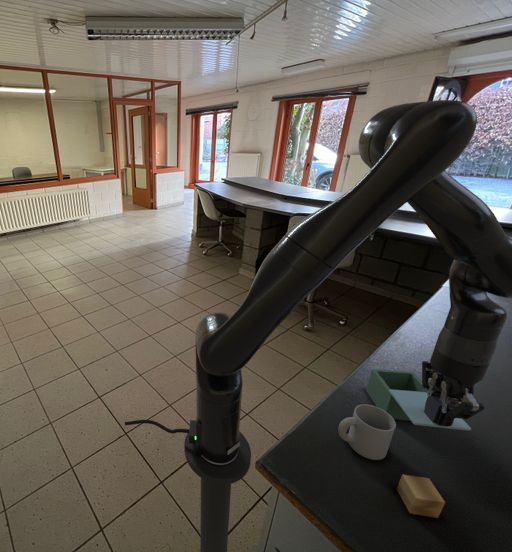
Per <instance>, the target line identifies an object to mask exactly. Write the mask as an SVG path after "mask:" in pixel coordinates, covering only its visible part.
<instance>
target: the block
mask: <svg viewBox="0 0 512 552" xmlns="http://www.w3.org/2000/svg"><path fill="white" fill-rule="evenodd" d="M396 491H397V493H398V495H399V497H400V498H401V500H402V502H403V503H404V506H405V507H406V509H407V511H408V513H409V514H410V515H411V514H412V515H418V516H424V517H430V518H435V519H439V517H440V515H441V513H442V511H443V508H444V506H445V504H446V501H445V500H444V498H443V497H442V495H441V494H440V493H439V491H438V489H437V488H436V486H435V485H434V483H433V482H432V481H431V479H430V478H429V477H423V476H417V475H408V474H401V477H400V479H399V482H398V485H397V487H396Z"/></svg>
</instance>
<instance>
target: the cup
mask: <svg viewBox="0 0 512 552" xmlns="http://www.w3.org/2000/svg"><path fill="white" fill-rule="evenodd" d="M395 420H396V419H393V417H392V416H391V415H390V414H388V413H387V412H386V411H384V410H382V409H380V408H378V407H377V406H376V405H372V404H366V403H365V404H364V403H363V404H357V406H355V407H354V410H353V414H352V416H350V417H345V418H344V419H342V420H341V421H340V423H339V424H338V431H337V432H338V436H339V438H341V439H342V440H343V441H344V442H347V443H348V444H349V445H350V446H349V447H351V448H352V450H354V451H355V452H356V453H357V454H358V455H359V456H361V457H362V458H365V459H368V460H372V461H380V460H383V459H385V457H386V456H387V454H388V451H389V448H390V445H391V442H392V439H393V436H394V432H395V430H396V427H397V423H396V421H395ZM348 429H349V430H348ZM347 432H348V433H347Z"/></svg>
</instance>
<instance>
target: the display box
mask: <svg viewBox="0 0 512 552" xmlns="http://www.w3.org/2000/svg"><path fill="white" fill-rule="evenodd" d="M389 389H392V390H404V391H416V392H427V389H426V388H423V386H422V379H421V378H419V376H418V375H417V374H416V373H415V372H414V371H403V370H391V369H390V370H389V369H378V368H371V370H370V375H369V378H368V382H367V386H366V390H365V391H366V393H367V394H368V395H369V397H370V399H371V400H372V402H373V403H374V406H376V407H378V408H380V409H382V410H384V411H386V412H387V413H388V414H390V415H391V416H392V417H393V419H394V420H399V421H408V422H412V421H411V420H410V419H409V417H408V416H407V415H406V413H405V412H404V411H403V409H402V408H401V407H400V405H399V404H398V403H397V401H396V400H395V399H394V397H393V396H392V395H391V393H390V392H389Z"/></svg>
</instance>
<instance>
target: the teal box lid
mask: <svg viewBox="0 0 512 552" xmlns="http://www.w3.org/2000/svg"><path fill="white" fill-rule="evenodd" d="M389 392H390V393H391V395H392V396H393V397H394V399H395V400H396V401H397V403H398V404H399V405H400V407H401V408H402V409H403V411H404V412H405V413H406V415H407V416H408V417H409V419H410V420H411V421H410V422H411V423H412V424H413V425H415V426H422V427H432V428H441V429H450V430H458V431H459V430H460V431H469V432H470V431H472V428H471V427H470V425H469V424H468V423H467V422H466V421H465V419H460V418H455V419H454V421H453V424H452V426H448V427H447V426H439V425H438V424H437V423H436V419H437V417H438V414H439V412H440V410H441V407H442V402H443V401H442V400H441V399H440V397H441V396H435V395H430V396H429V399H428V401H427V404H426V407H425V403H426V400H427V397H428V395H427V392H416V391H404V390H392V389H389ZM453 405H454V404H451V405H450V407H452V408H453Z"/></svg>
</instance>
